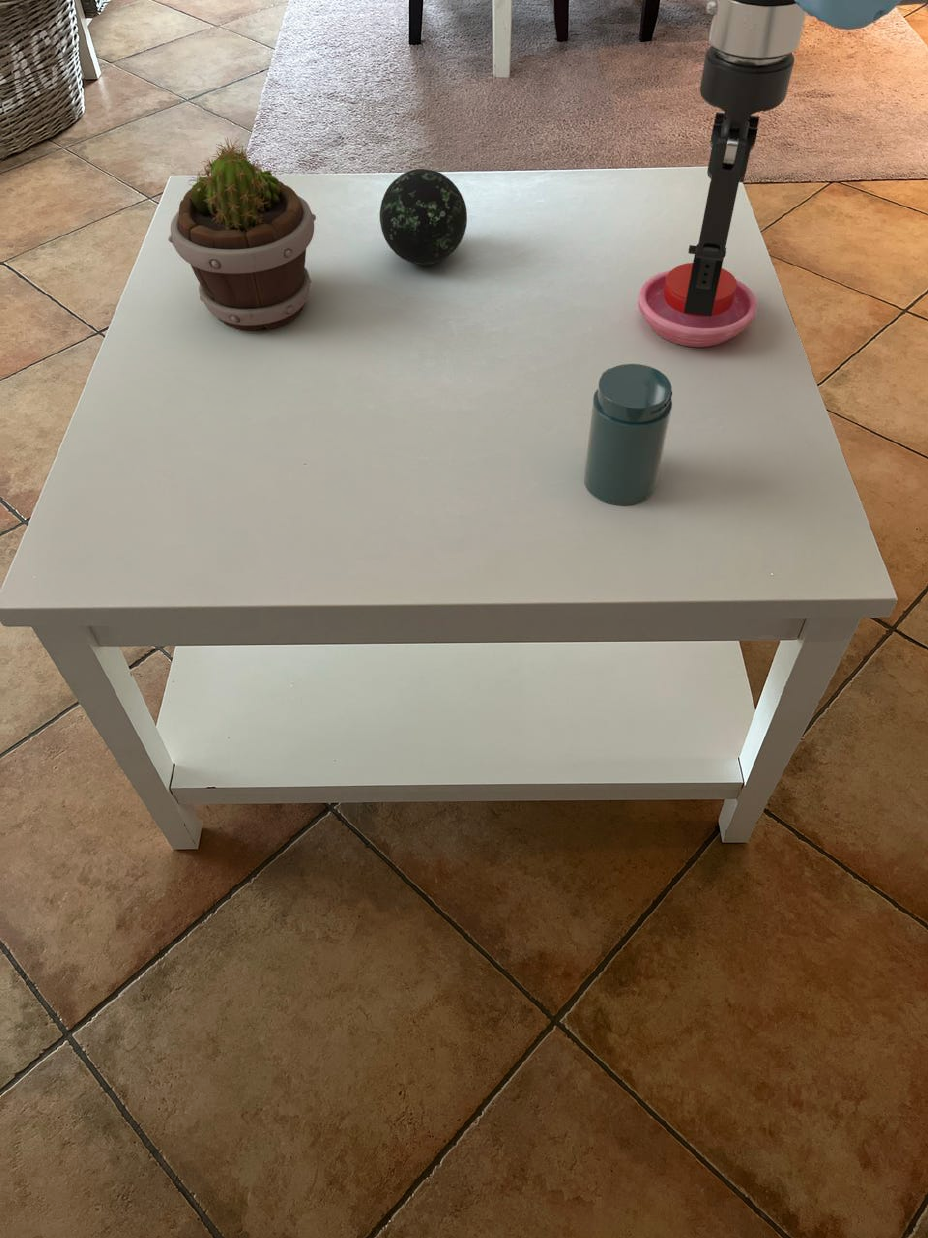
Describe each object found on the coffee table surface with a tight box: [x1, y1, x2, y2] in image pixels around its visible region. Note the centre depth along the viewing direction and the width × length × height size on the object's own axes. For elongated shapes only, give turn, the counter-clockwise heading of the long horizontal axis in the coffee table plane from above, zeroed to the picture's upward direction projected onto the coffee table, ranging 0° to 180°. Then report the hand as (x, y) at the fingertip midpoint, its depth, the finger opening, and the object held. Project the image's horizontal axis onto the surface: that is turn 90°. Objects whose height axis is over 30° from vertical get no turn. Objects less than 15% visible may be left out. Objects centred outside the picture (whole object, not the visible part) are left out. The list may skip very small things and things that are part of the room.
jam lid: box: [664, 262, 737, 317], centre depth 96 cm, size 7×7×2 cm
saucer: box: [637, 269, 758, 348], centre depth 98 cm, size 12×12×3 cm
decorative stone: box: [379, 168, 468, 266], centre depth 105 cm, size 10×10×10 cm
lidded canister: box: [583, 363, 673, 506], centre depth 80 cm, size 7×7×11 cm
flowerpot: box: [168, 137, 317, 331], centre depth 95 cm, size 14×15×20 cm
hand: (704, 277), depth 95 cm, fingers open, 13 cm apart
